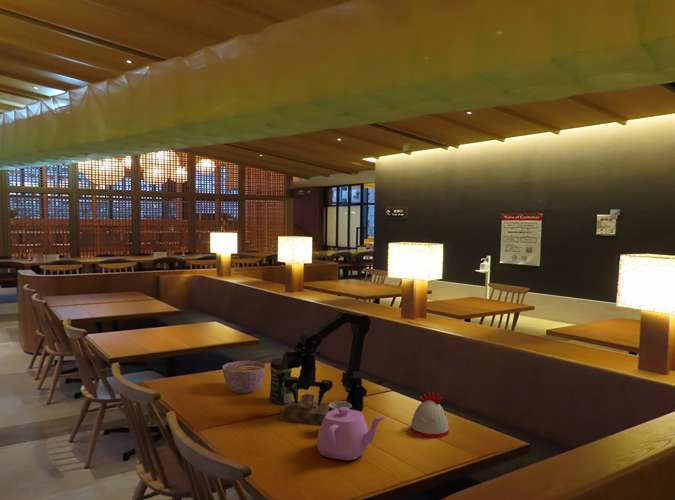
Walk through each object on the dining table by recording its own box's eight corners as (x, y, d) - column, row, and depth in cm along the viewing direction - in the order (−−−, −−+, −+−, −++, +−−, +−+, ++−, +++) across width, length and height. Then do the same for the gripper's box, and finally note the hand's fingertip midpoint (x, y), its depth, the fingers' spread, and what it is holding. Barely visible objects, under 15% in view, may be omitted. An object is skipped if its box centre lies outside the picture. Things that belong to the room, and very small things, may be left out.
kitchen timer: (445, 440, 191) (446, 399, 190) (407, 434, 195) (408, 394, 195) (451, 427, 204) (452, 388, 203) (415, 422, 208) (416, 384, 208)
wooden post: (314, 416, 213) (314, 394, 213) (311, 419, 209) (311, 397, 208) (304, 415, 214) (304, 392, 214) (300, 418, 210) (301, 396, 209)
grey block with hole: (333, 414, 215) (333, 404, 215) (325, 425, 203) (325, 414, 203) (291, 410, 219) (291, 400, 219) (280, 420, 208) (281, 410, 208)
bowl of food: (275, 389, 247) (275, 364, 247) (245, 400, 230) (245, 374, 230) (242, 382, 258) (243, 358, 257) (212, 392, 241) (212, 367, 240)
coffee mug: (334, 438, 191) (335, 410, 191) (323, 429, 199) (324, 403, 198) (362, 432, 196) (363, 406, 196) (351, 425, 204) (351, 399, 204)
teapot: (304, 462, 170) (305, 416, 170) (329, 439, 190) (330, 397, 189) (372, 476, 162) (373, 427, 162) (391, 449, 182) (392, 406, 181)
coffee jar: (266, 400, 232) (267, 357, 231) (282, 397, 236) (283, 355, 236) (278, 406, 224) (278, 362, 223) (294, 403, 229) (294, 360, 228)
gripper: (279, 369, 205) (278, 409, 206) (325, 373, 200) (324, 414, 201) (288, 362, 216) (288, 400, 216) (333, 366, 211) (332, 404, 212)
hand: (307, 404), depth 211 cm, fingers open, 9 cm apart
